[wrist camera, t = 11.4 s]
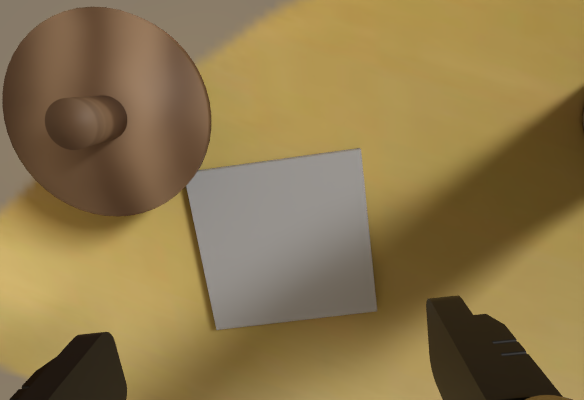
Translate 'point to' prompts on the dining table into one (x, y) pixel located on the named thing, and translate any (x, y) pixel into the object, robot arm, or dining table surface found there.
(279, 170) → the mat
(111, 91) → the lid
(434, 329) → the robot arm
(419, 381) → the dining table surface
